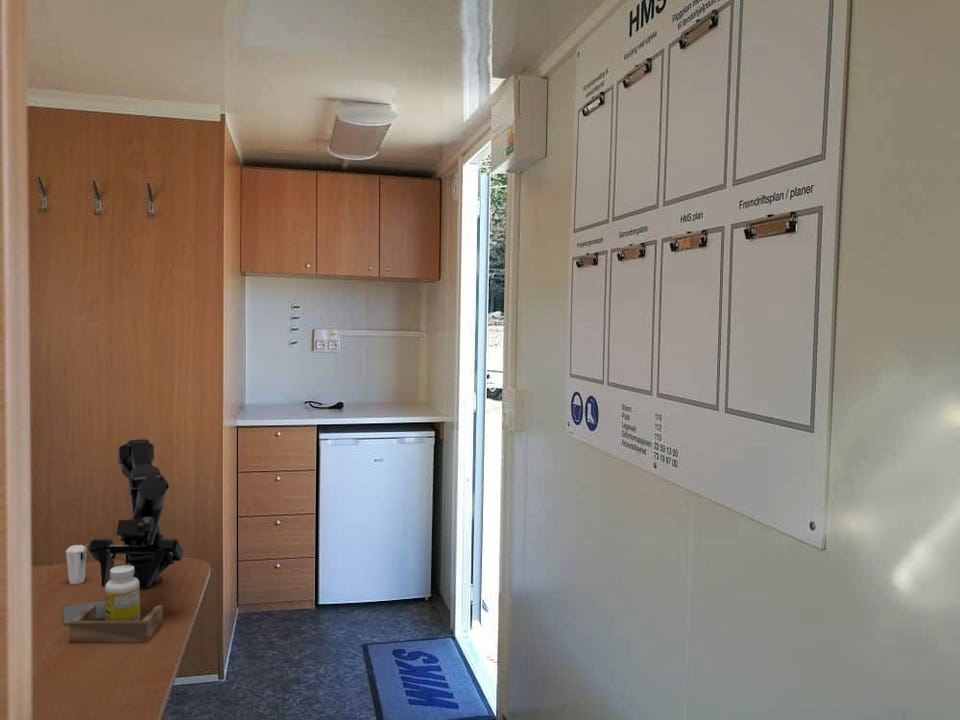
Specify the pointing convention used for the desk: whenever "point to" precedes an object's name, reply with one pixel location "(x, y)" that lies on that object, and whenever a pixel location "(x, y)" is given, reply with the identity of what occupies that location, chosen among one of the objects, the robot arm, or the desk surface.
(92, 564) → the desk surface
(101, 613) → the charcoal mat
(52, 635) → the desk surface
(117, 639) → the frame
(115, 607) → the supplement bottle
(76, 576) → the milkshake
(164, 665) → the desk surface
